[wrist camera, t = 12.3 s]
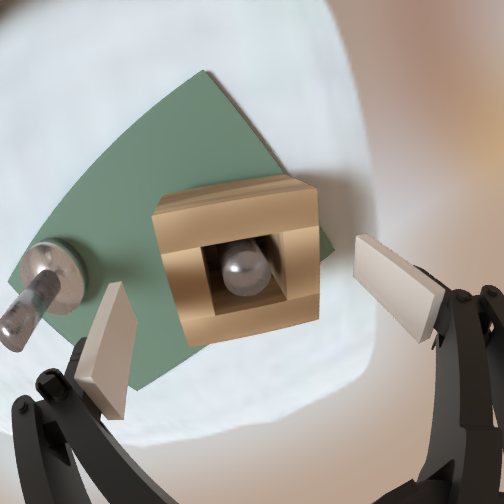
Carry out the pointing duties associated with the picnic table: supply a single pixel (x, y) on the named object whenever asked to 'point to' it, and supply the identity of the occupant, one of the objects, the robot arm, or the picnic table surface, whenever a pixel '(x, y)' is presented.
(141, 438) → the picnic table surface
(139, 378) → the mat
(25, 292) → the stand
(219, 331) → the square wooden frame
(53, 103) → the picnic table surface
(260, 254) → the hub
